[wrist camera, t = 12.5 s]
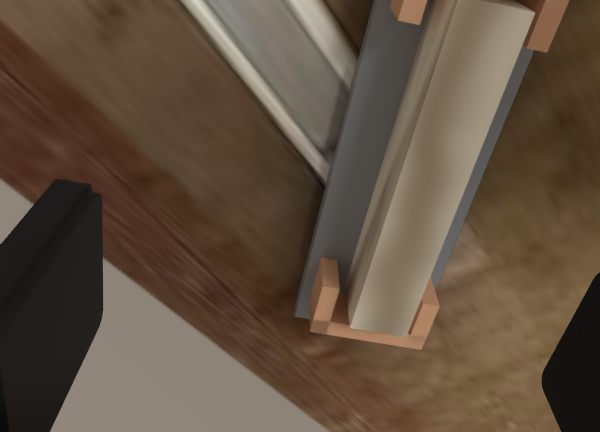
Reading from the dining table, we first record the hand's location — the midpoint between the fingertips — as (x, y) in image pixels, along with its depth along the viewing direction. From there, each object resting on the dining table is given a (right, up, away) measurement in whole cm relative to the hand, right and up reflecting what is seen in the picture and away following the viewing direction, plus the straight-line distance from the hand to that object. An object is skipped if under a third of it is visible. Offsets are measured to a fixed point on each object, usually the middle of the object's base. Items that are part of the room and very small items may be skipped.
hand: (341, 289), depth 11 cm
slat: (+7, +5, +27) cm, 29 cm away
